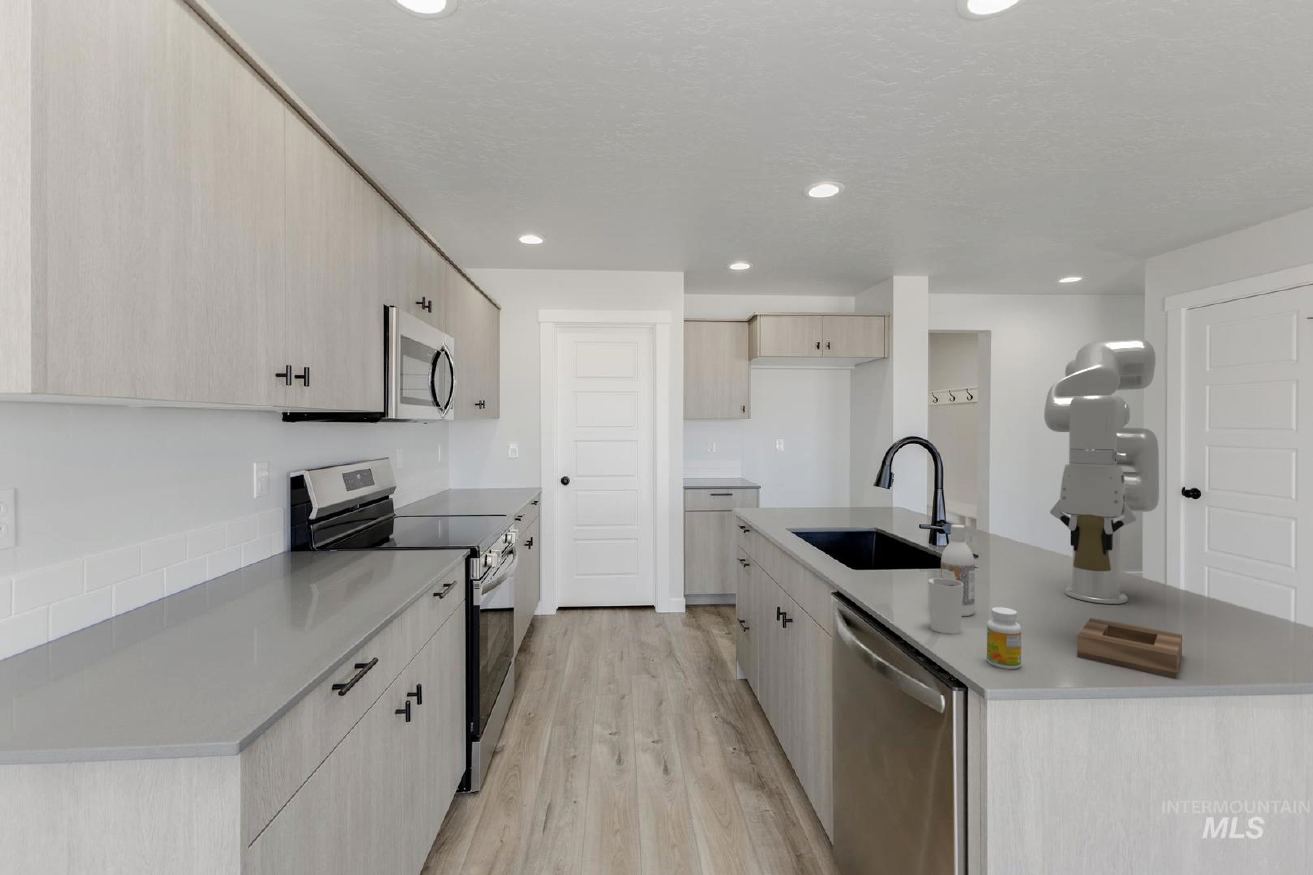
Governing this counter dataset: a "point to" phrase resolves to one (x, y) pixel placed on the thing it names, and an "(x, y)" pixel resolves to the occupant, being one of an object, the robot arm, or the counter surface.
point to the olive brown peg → (1091, 544)
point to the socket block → (1131, 647)
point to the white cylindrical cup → (945, 605)
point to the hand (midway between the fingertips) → (1091, 550)
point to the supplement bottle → (1004, 639)
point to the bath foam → (960, 566)
